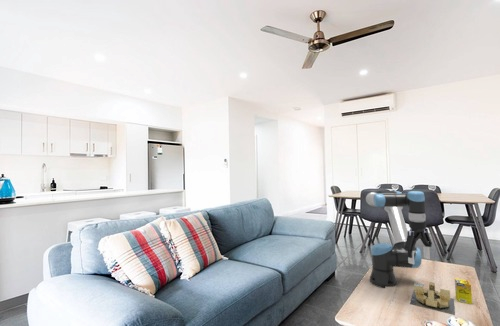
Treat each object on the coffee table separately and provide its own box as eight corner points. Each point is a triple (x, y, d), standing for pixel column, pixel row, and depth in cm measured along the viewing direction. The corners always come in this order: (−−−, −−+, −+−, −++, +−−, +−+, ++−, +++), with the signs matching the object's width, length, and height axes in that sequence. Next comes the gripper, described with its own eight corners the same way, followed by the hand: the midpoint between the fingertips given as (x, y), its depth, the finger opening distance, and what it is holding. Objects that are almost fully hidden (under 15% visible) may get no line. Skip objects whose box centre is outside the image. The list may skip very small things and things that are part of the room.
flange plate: (410, 306, 130) (409, 298, 131) (413, 292, 145) (413, 285, 145) (455, 317, 120) (454, 309, 120) (454, 301, 134) (453, 293, 134)
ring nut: (413, 302, 131) (412, 289, 131) (416, 290, 143) (415, 278, 143) (451, 311, 122) (450, 297, 122) (450, 298, 134) (449, 285, 134)
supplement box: (472, 306, 128) (471, 284, 128) (457, 303, 131) (456, 282, 132) (470, 301, 133) (469, 280, 133) (455, 298, 136) (454, 278, 137)
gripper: (409, 225, 126) (412, 268, 126) (438, 219, 138) (440, 258, 137) (395, 222, 133) (397, 263, 133) (423, 216, 144) (425, 254, 144)
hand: (419, 261), depth 135 cm, fingers open, 13 cm apart
